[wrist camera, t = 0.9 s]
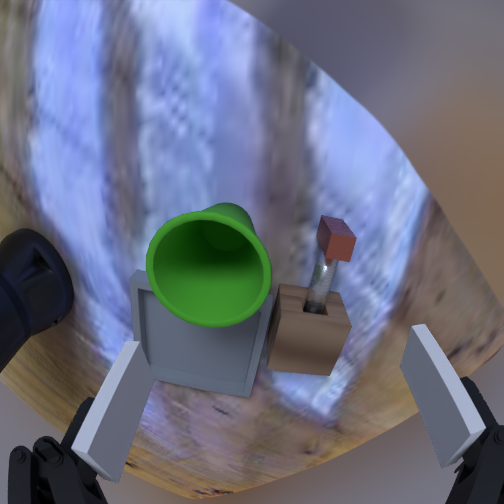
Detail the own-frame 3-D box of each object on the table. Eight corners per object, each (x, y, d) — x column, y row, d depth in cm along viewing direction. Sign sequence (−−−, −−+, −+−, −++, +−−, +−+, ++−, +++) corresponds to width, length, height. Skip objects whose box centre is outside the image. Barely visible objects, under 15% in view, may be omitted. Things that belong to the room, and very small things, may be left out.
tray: (143, 364, 39) (138, 374, 37) (137, 269, 33) (129, 278, 31) (250, 385, 39) (249, 397, 37) (272, 294, 33) (272, 305, 31)
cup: (268, 269, 32) (266, 334, 22) (185, 262, 32) (151, 320, 22) (275, 186, 28) (278, 218, 18) (184, 181, 28) (139, 209, 18)
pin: (321, 215, 28) (331, 232, 23) (342, 219, 28) (356, 237, 23) (298, 304, 32) (302, 333, 27) (317, 306, 32) (324, 335, 27)
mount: (279, 283, 32) (281, 317, 26) (339, 292, 32) (351, 326, 26) (267, 332, 35) (266, 369, 29) (322, 339, 35) (329, 375, 29)
